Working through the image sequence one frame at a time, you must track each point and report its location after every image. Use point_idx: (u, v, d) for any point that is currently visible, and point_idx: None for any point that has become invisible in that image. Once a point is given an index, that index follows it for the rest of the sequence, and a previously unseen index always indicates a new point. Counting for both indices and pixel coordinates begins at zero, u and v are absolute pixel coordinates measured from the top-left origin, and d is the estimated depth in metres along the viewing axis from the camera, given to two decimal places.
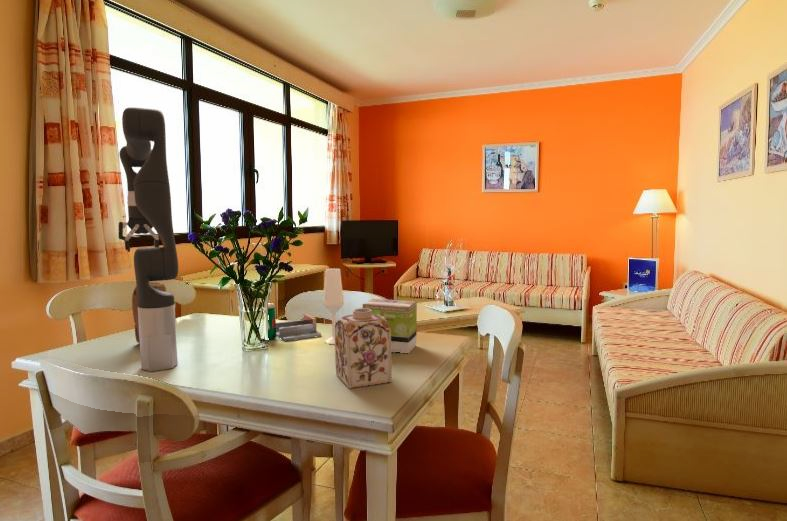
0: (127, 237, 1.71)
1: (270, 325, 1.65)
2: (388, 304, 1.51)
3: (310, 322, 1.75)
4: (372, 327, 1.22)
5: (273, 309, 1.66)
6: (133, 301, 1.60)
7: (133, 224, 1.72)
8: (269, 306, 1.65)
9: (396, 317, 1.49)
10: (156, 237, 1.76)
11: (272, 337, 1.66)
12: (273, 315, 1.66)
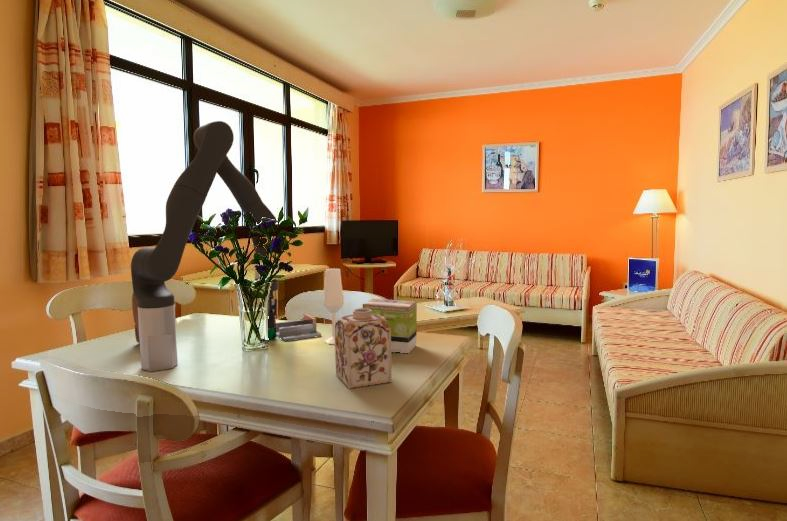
0: None
1: None
2: (388, 304, 1.51)
3: (310, 322, 1.75)
4: (372, 327, 1.22)
5: None
6: (133, 301, 1.60)
7: None
8: None
9: (396, 317, 1.49)
10: None
11: (272, 337, 1.66)
12: None
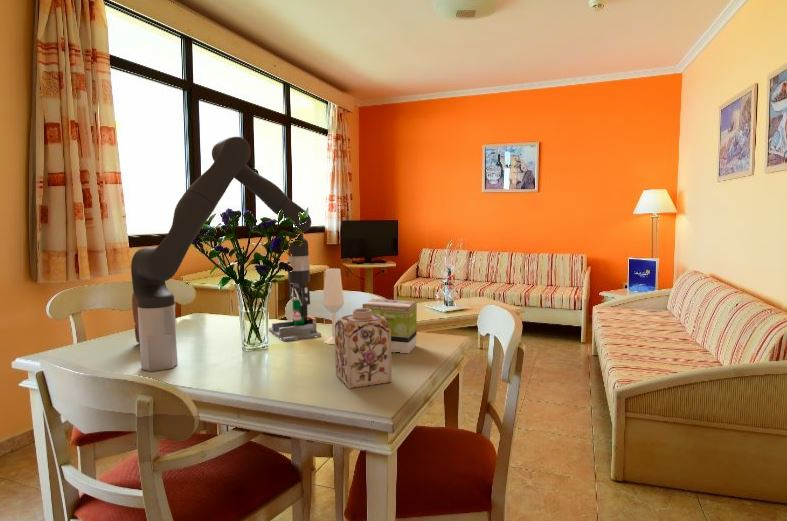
0: None
1: None
2: (388, 304, 1.51)
3: (310, 322, 1.75)
4: (372, 327, 1.22)
5: None
6: (133, 301, 1.60)
7: None
8: None
9: (396, 317, 1.49)
10: None
11: None
12: None
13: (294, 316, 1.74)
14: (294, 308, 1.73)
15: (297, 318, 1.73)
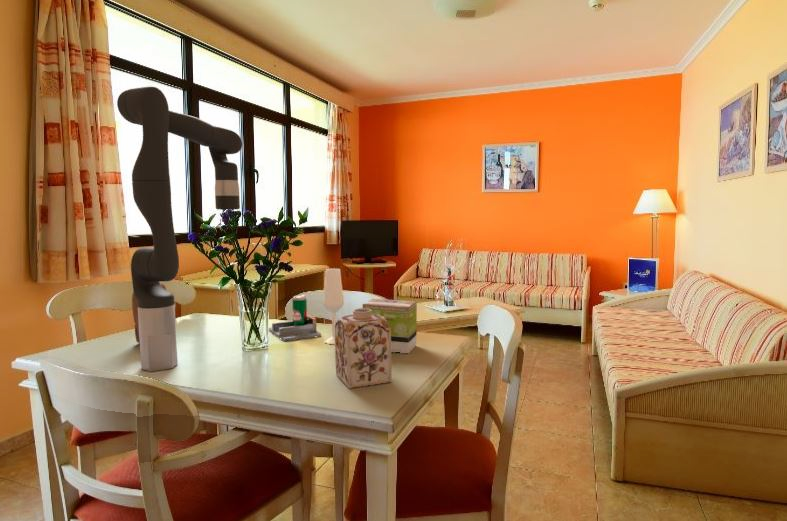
0: None
1: (302, 316, 1.73)
2: (388, 304, 1.51)
3: (310, 322, 1.75)
4: (372, 327, 1.22)
5: (305, 301, 1.74)
6: (133, 301, 1.60)
7: None
8: (301, 298, 1.73)
9: (396, 317, 1.49)
10: None
11: None
12: (305, 307, 1.74)
13: (294, 316, 1.74)
14: (294, 308, 1.73)
15: (297, 318, 1.73)
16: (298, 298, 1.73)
